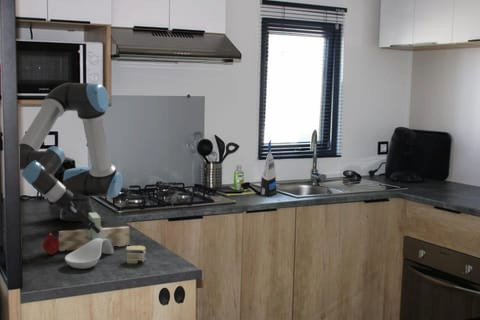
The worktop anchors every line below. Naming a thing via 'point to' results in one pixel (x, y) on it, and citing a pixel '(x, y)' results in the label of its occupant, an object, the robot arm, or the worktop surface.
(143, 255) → the pale yellow layered block
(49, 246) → the onion
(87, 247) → the spoon rest
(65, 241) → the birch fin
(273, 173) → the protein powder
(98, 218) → the notched piece
